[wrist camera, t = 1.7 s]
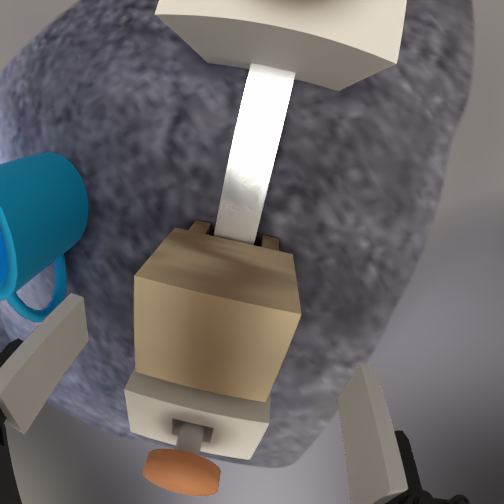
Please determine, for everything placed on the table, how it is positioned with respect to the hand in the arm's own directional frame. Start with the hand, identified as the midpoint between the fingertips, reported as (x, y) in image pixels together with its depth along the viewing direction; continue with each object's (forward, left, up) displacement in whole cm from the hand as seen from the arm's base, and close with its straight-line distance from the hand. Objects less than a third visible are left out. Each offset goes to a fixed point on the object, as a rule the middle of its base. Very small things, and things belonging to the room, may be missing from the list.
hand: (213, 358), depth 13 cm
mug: (-15, 0, -9) cm, 17 cm away
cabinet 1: (0, -6, -9) cm, 11 cm away
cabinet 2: (0, +16, -9) cm, 18 cm away
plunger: (0, -6, -1) cm, 7 cm away
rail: (0, +5, -9) cm, 10 cm away
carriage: (0, 0, -9) cm, 9 cm away
